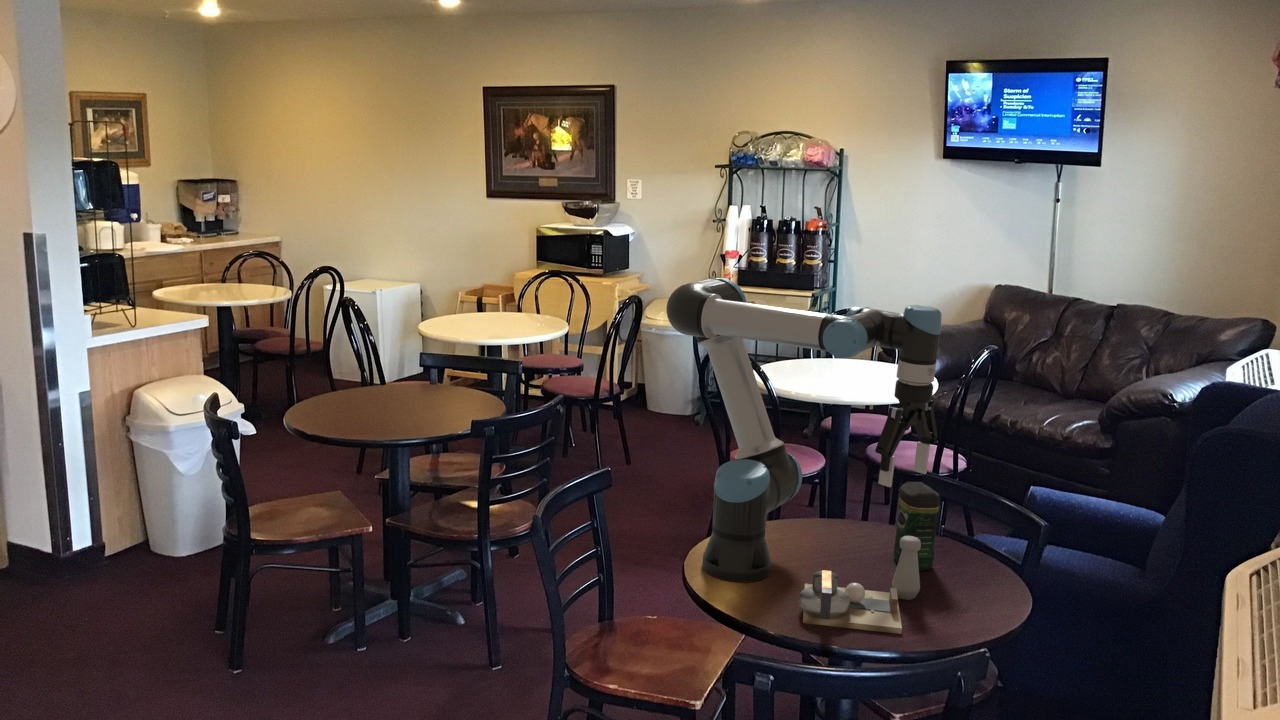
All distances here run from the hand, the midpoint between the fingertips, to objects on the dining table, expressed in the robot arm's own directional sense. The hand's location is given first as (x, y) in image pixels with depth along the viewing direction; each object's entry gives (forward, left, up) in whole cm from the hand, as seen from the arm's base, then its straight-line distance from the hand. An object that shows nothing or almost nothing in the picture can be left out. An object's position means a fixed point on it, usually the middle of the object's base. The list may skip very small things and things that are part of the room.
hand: (902, 478), depth 220 cm
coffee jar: (+5, +13, -24) cm, 28 cm away
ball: (-9, -14, -23) cm, 28 cm away
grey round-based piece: (-15, -19, -23) cm, 33 cm away
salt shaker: (+2, -5, -24) cm, 25 cm away
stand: (-9, -15, -24) cm, 30 cm away
